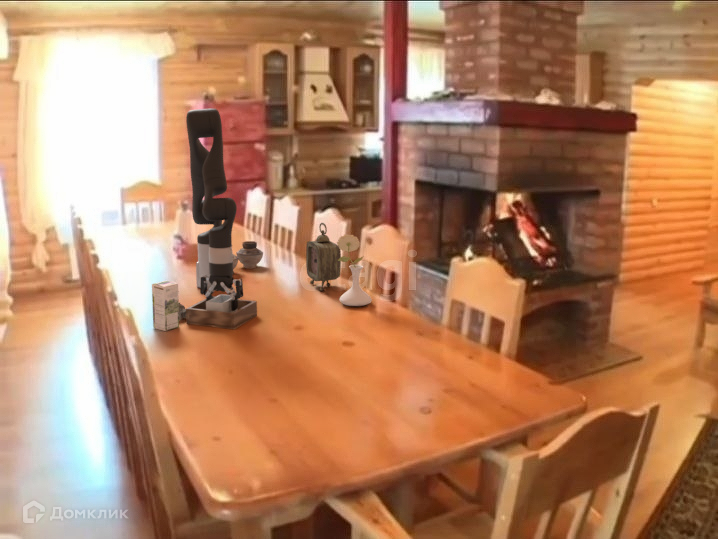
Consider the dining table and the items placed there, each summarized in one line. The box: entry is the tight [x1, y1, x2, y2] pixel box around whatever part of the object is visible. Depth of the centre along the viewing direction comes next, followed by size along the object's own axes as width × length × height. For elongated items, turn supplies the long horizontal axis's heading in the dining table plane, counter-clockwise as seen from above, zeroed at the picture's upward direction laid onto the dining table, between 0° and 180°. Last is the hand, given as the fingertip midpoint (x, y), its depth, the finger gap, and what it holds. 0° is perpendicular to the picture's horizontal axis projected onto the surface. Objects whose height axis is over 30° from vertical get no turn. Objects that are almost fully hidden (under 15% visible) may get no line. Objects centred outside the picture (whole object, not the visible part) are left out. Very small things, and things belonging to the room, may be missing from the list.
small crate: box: [206, 293, 237, 313], centre depth 239 cm, size 6×10×6 cm, turn 163°
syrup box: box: [151, 280, 180, 332], centre depth 229 cm, size 6×6×14 cm
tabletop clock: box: [305, 222, 342, 292], centre depth 280 cm, size 14×9×25 cm, turn 23°
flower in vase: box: [336, 234, 373, 307], centre depth 258 cm, size 13×11×25 cm
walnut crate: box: [185, 295, 258, 330], centre depth 239 cm, size 17×16×5 cm
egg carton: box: [179, 302, 186, 321], centre depth 240 cm, size 11×8×4 cm
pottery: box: [233, 240, 264, 274], centre depth 307 cm, size 11×25×12 cm, turn 148°
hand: (222, 308), depth 239 cm, fingers open, 8 cm apart
